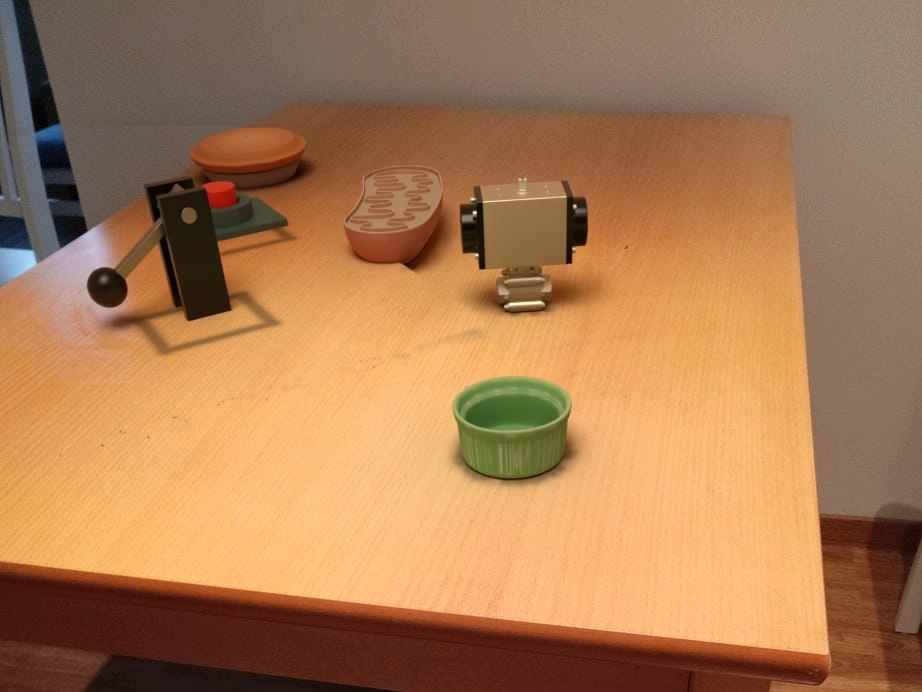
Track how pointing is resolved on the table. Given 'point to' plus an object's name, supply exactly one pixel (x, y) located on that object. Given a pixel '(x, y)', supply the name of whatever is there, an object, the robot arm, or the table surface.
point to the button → (221, 194)
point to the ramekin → (512, 425)
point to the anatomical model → (395, 213)
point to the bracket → (189, 248)
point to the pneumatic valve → (523, 236)
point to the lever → (123, 268)
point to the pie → (250, 156)
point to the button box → (245, 218)
